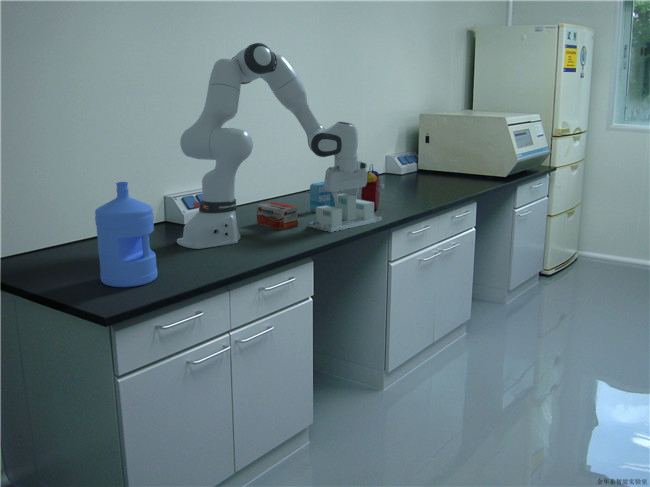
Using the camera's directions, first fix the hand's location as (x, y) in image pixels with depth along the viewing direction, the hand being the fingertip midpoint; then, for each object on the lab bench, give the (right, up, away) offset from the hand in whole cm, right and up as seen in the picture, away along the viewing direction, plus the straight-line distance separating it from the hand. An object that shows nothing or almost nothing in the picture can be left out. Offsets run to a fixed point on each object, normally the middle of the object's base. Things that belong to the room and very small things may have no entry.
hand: (345, 200), depth 255 cm
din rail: (0, -9, +3) cm, 9 cm away
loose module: (0, -7, +2) cm, 7 cm away
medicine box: (-26, -10, +1) cm, 28 cm away
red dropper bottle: (+13, -2, +28) cm, 31 cm away
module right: (+7, -6, +8) cm, 12 cm away
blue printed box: (-9, -3, +27) cm, 28 cm away
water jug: (-64, -27, -66) cm, 96 cm away
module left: (-6, -9, -4) cm, 12 cm away
